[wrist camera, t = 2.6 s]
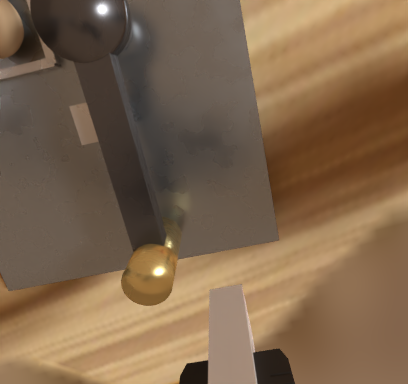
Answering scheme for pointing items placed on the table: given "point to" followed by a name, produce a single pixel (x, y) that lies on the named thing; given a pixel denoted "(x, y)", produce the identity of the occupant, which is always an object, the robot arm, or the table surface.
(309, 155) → the table surface
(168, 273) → the lever
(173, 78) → the bench plate
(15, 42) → the tan wooden ball
